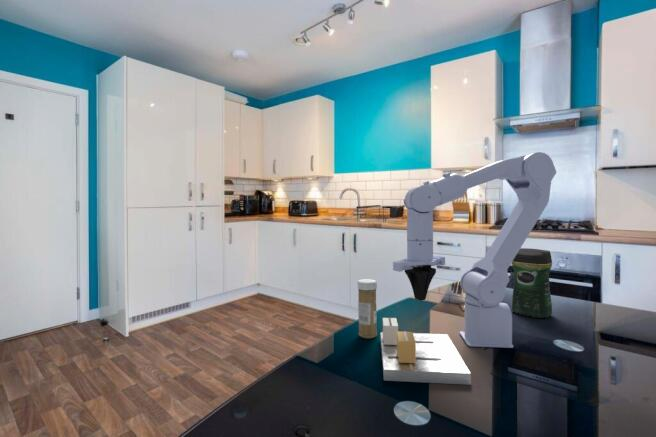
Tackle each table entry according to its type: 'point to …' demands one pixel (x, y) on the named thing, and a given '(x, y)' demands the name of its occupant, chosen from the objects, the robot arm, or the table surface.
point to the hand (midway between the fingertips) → (420, 299)
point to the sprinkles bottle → (367, 308)
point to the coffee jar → (532, 283)
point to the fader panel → (426, 362)
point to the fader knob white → (390, 331)
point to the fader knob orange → (406, 347)
